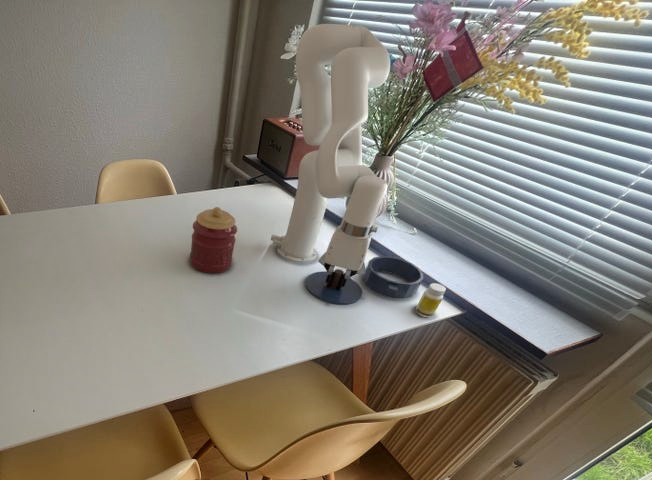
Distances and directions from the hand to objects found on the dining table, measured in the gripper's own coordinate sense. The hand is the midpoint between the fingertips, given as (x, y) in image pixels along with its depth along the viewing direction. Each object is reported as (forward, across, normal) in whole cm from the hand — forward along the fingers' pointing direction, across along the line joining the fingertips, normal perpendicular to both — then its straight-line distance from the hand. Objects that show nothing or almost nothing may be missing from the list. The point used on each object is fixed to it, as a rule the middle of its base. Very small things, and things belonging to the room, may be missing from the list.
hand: (333, 285), depth 124 cm
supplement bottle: (+2, -25, -1) cm, 25 cm away
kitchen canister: (+2, +37, +3) cm, 37 cm away
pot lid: (+1, 0, 0) cm, 1 cm away
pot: (+1, -15, -11) cm, 19 cm away
